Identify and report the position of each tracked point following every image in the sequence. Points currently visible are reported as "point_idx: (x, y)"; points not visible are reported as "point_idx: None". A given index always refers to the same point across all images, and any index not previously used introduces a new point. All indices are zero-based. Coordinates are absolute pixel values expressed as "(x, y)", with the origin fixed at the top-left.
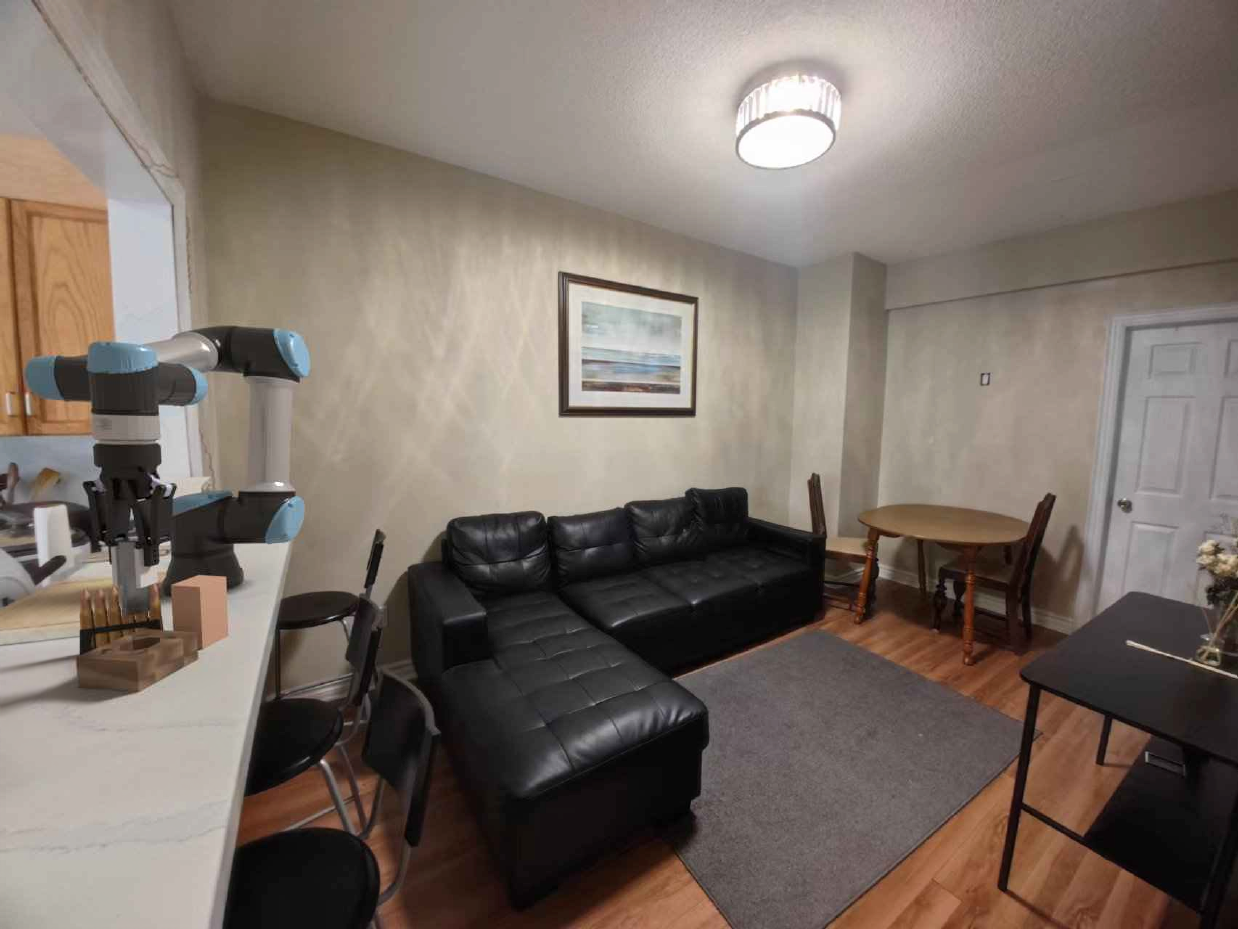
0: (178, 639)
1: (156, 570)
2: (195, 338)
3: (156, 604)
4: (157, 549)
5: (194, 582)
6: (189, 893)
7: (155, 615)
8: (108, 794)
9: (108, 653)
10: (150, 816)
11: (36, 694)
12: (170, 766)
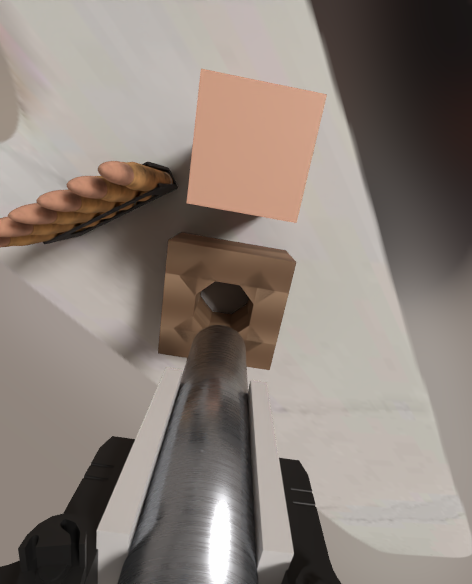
0: (281, 294)
1: (271, 418)
2: None
3: (142, 183)
4: (322, 551)
5: (247, 172)
6: (465, 548)
7: (150, 187)
8: (359, 484)
9: None
10: (407, 503)
11: (132, 340)
12: (391, 460)
